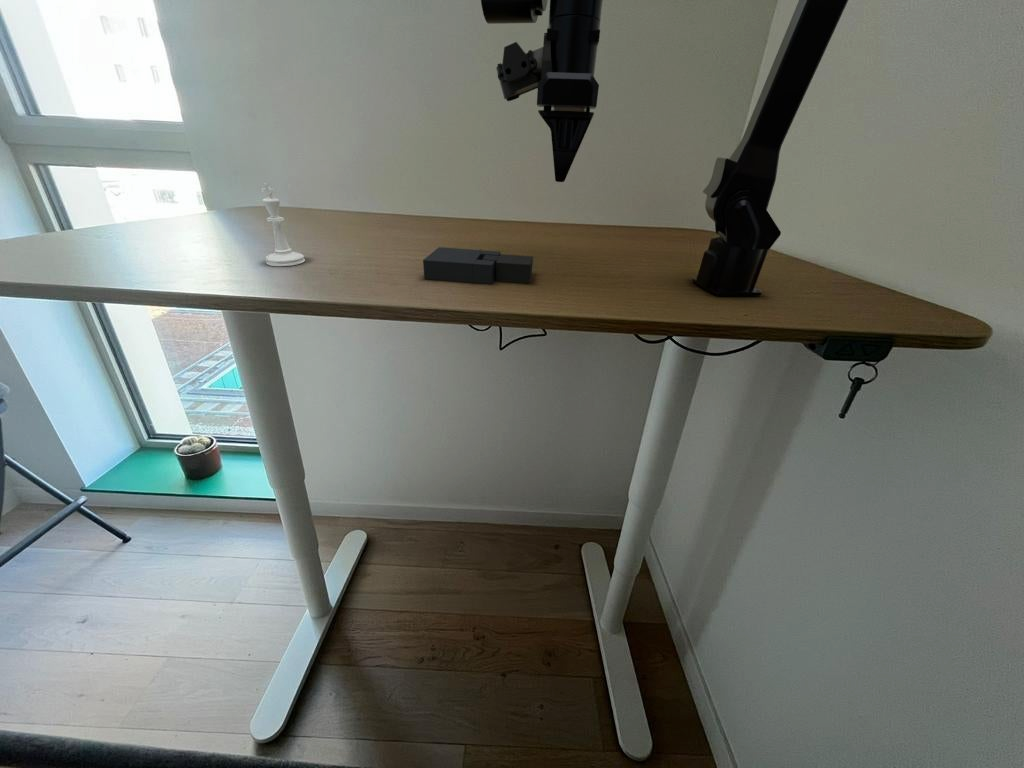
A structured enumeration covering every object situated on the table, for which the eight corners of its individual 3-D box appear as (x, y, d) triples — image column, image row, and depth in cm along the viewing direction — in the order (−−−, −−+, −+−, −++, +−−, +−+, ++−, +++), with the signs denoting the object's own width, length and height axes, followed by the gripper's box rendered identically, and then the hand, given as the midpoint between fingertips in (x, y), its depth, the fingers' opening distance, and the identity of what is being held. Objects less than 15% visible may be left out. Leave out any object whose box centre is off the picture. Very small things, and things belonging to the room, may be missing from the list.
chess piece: (290, 267, 54) (269, 186, 49) (258, 264, 55) (234, 183, 50) (312, 259, 58) (296, 182, 53) (282, 256, 59) (263, 180, 54)
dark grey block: (531, 274, 56) (533, 256, 55) (529, 283, 52) (530, 264, 51) (486, 270, 57) (486, 253, 55) (480, 280, 53) (480, 261, 52)
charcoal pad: (500, 269, 58) (500, 251, 57) (491, 284, 52) (492, 265, 50) (439, 264, 59) (438, 246, 57) (424, 279, 52) (422, 259, 51)
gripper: (512, 39, 53) (508, 171, 61) (489, -6, 37) (488, 181, 45) (596, 41, 52) (581, 175, 60) (610, -4, 36) (586, 186, 44)
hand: (560, 179), depth 53 cm, fingers open, 9 cm apart
